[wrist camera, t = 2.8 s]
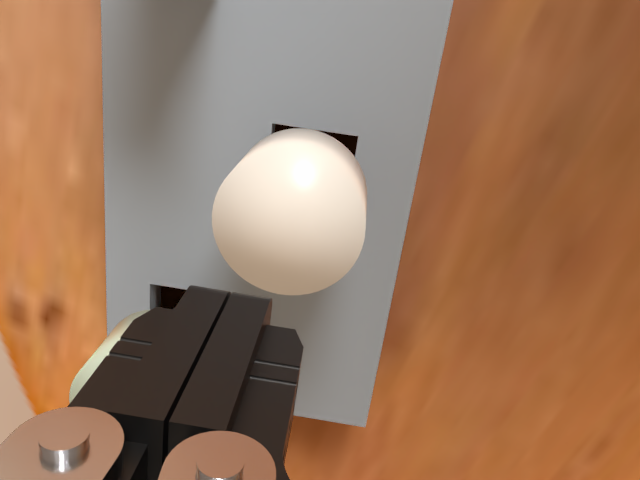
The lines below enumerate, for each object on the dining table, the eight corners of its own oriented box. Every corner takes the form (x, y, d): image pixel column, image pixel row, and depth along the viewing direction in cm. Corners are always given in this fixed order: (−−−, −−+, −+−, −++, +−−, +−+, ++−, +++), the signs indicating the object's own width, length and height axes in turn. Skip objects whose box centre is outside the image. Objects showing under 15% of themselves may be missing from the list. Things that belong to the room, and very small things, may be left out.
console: (476, -180, 20) (499, -223, 16) (366, 374, 29) (365, 428, 26) (145, -224, 20) (94, -275, 17) (141, 337, 30) (107, 385, 26)
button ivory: (377, 121, 21) (377, 163, 15) (358, 233, 22) (352, 305, 17) (258, 104, 21) (216, 138, 15) (248, 215, 22) (207, 282, 17)
